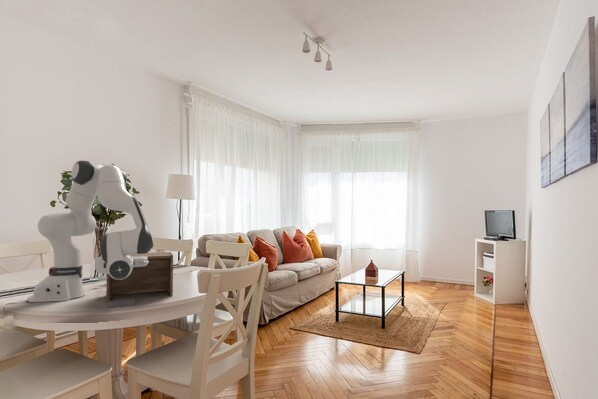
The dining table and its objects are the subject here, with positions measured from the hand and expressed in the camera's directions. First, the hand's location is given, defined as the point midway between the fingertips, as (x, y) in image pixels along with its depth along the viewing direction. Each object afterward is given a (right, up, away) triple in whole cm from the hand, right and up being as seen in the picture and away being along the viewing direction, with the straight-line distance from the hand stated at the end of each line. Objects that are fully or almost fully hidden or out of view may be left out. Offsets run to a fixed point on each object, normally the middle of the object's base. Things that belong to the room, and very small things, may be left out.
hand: (122, 260), depth 166 cm
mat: (0, -19, -1) cm, 19 cm away
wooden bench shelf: (+2, -19, +15) cm, 24 cm away
